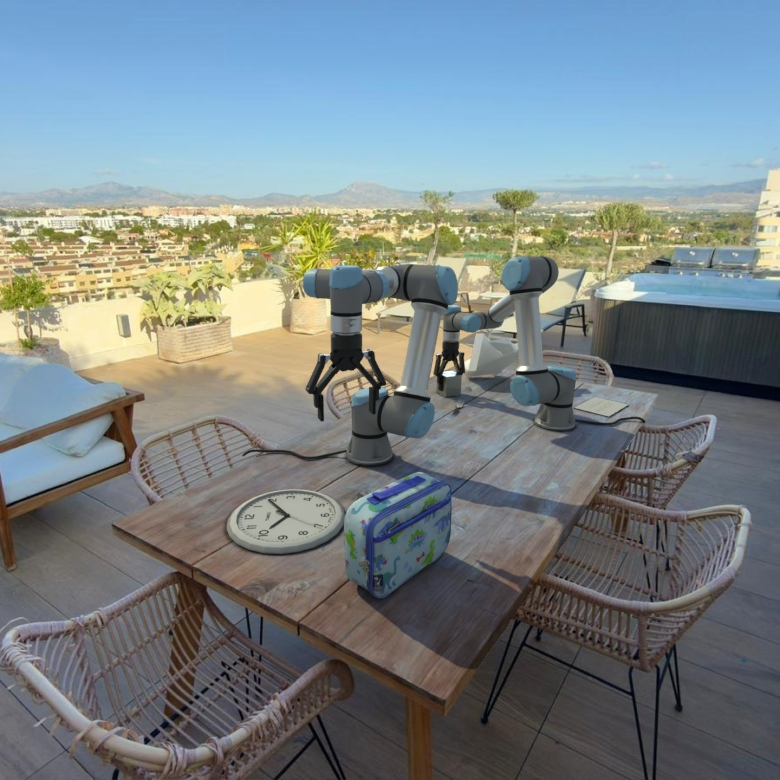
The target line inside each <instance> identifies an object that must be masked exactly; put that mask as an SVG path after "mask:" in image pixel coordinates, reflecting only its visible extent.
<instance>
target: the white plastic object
mask: <svg viewBox="0 0 780 780" xmlns="http://www.w3.org/2000/svg"><path fill="white" fill-rule="evenodd" d="M512 315H513V317H514V320H515V321H516V315H515V312H513V313H512ZM517 360H519V353H518V342H516V343H513V342H512V341H511V339H510V338H509V337H508V336H507V337H503V338H498V339H493V340H490V339H489V338H488V336H486V334H485V333H475V337H474V342H473V346H472V351H471V356H470V358H468V359H467V360H464V364H465V373H463V375H464V376H465V377H466V378H470V377H471V378H472V377H481V376H489V375H493V376H497V375H500V374H502V373H503V371H504V370H505V369H507V367H509V366H510V365H512V364H513V363H515V362H516V361H517Z"/></svg>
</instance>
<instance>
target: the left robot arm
mask: <svg viewBox="0 0 780 780" xmlns="http://www.w3.org/2000/svg"><path fill="white" fill-rule="evenodd" d="M302 289H303V292H304V293H305V295H306V296H308V297H310V298H315V299H322V300H329V302H330V311H329V312H330V313H329V315H330V317H329V318H330V321H329V322H330V325H329V326H330V329H329V330H330V331H331V333H330V353H329V354H325V353H324V354H323V353H322V352H319V353H318V354H317V362H316V364H315V366H314V369H313V372H312V373H311V375H310V378H309V380H308V382H307V384H306V386H305V391H306V392H307V394H308V395H313V406H314V408H315V409H317V419H318V420H319V421H320V422H325V404H324V400H325V398H324V394H322V393H323V392H324V390H325V389H326V388H327V386H328V385H329V384H330V383H331V381H332V379H333V378H334V377H335V376H336V375H337V374H338V373H339V372H347V371H351V372H352V371H355V370H356V369H357V370H358V372H359V373H360V374H361V375H362V376H363V377H364V378H365V379H366V381H367V382H368V383H369V384H370V385H371V386H369V387H366V388H362V389H359V390H356V391H355V392H354V393H352V396H351V405H350V407H351V436H350V439H349V442H348V445H347V447H346V449H344V450H338V451H335V452H329V453H324V454H320V455H314V456H313V455H312V456H307V455H302V454H299V453H297V452H295V451H292V450H286V449H256V448H255V449H249V450H247V451H245V452H243V453H242V455H241V457H245V456H247V455H248V454H250V453H285V454H291V455H294V456H296V457H298V458H301V459H304V460H317V459H322V458H327V457H333V456H336V455H340V454H344V453H345V455H346V460H347V461H348V462H350V463H351V464H353V465H357V466H362V467H376V466H377V467H378V466H383V465H385V464H388V463H389V462H390V461H392V460H393V447H392V445H391V441H390V439H389V436H388V434H392V435H396V436H402V437H405V438H408V439H409V438H411V439H422V438H424V437H425V436H426V435H427V434H428V432H429V431H430V429H431V427H432V426H433V423H434V419H435V417H436V416H435V414H436V409H435V405H434V403H432V402H431V398H432V397H431V395H430V394H429V392H428V388H429V383H430V378H431V372H432V368H433V362H434V358H435V351H436V346H437V341H438V336H439V331H440V327H441V321H442V316H443V314H445V313H446V312H447V310H448V306H449V305H454V304H455V303H456V301H457V300H458V294H459V283H458V278H457V274H456V272H455V270H454V269H453V268H452V267H450V266H446V265H440V264H436V265H435V264H433V265H432V264H418V263H417V264H415V263H402V264H395V265H384V266H379V267H377V268H376V269H362V267H360V266H359V265H334V266H332V267H331V268H330V269H329V268H328V269H326V268H310V269H308V270H307V271H305V273H304V275H303V278H302ZM386 298H389V299H396V300H401V301H406V302H411V303H410V306H411V308H412V309H413V311H414V312H413V317H412V322H411V327H410V333H409V338H408V343H407V348H406V352H405V353H406V354H405V358H404V363H403V369H402V374H401V378H400V384H399V386H398V387H396V388H395V389H394V390H393V394H392V395H390V394H389V390H388V389H387V388H386V387H385V386H387V381H386V379H385V376H384V375H383V372H382V370H381V369H380V366H379V365H378V363H377V361H376V353H375V351H373V350H372V349H370V348H367V349H366V350H364V351H363V334H362V331H363V305H366V304H370V303H377V302H379V301H382V300H384V299H386ZM364 358H365V359H366V360H367V361H368V364H369V366H370V368H371V370H372V372H373V373H374V376H375V378H376V379H377V380H376V379H375V378H374V377H373V376H372V375H371V373H369V371H367V369H366V368H365V367H364V365H363V364H362V363H361V362H362V360H363V359H364ZM329 361H331V364H330V365H329V367H328V368H327V370H326V372H325V373H324V374H323V376H322V373H323V371H324V369H325V366H326V364H327V363H329ZM321 376H322V377H321ZM320 377H321V379H320Z"/></svg>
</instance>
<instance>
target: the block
mask: <svg viewBox="0 0 780 780" xmlns="http://www.w3.org/2000/svg"><path fill="white" fill-rule="evenodd" d="M442 377H443V390H442V391H440V390H438V383H437V382H436V390H435V392H436V393H437V394H439V395H441V396H443V397H445V398H449V397H455V396H462V380H463V379H462V378H463V375H460V374H458V373H457V372H456V371H454V370H447V371H445V370H444V372H443V374H442Z"/></svg>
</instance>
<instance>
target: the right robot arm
mask: <svg viewBox="0 0 780 780" xmlns="http://www.w3.org/2000/svg"><path fill="white" fill-rule="evenodd" d="M559 273H560V272H559V266H558V264H557V263H556V261H554V259H552V258H550V257H549V256H544V255H538V256H537V255H536V256H535V255H534V256H532V255H530V256H529V255H528V256H527V255H522V256H516V257H512V258H510V259H508V261H506V263H505V265H504V266H503V267H502V271H501V276H500V277H501V283H502V286H503V287H504V288H505V289H506V290H508V291H509V292H508V293H507V294H506V295H505V296H503V297H502V298H500V300H498V301H497V302H496V303H495V304H493V305H492V306H491V307H490V308H489V309H487V310H486V311H480V312H479V311H478V312H462V307H461V306H460V305H456V304H455V305H454V304H453V305H448V310H447V312H446V313H445V314H443V315H442V316H443V317H442V319H443V321H442V322H443V323H442V345H441V347H442V348H441V349H442V350H441V353H435V364H434V368H433V373H432V374H433V376H435V377H436V384H437V383H438V390H440V391H442V390H443V377H442V374H443V372H445V369H446V367H447V365H448V364H449V363H450V362H452V364H453V367H454V369H455V372H456V373H458V374H460V375H462V376H463V375H464V373H465V364H464V362H465V352H464V351H462V350H461V351H459V350H460V335H461V331H462V332H466V333H470V334H471V333H472V334H474V333H476V332H478V331H483V330H494V329H498V328H501V327H502V326H503V324H504V322H505V320H506V319H507V318H508V317H509V316H511V315H513V312H515V315H516V320H515V326H516V339H517V343H518V353H519V359H518V364H519V365H518V366H517V368H516V369H515V376H514V377H513V378H512V379H511V381H510V384H509V390H510V394H511V396H512V398H513V399H514V401H516V403H517V404H519V405H521V406H522V407H531V406H532V407H535V406H537V405H539V407H538V410H537V411H536V413H535V417H534V424H535V425H536V426H537V427H539V428H542V429H544V430H549V431H556V432H567V431H572V430H574V429H575V428H576V423H582V424H584V423H585V424H591V425H598V426H614V425H617V424H618V423H619V422H621V421H628V420H639V421H641V422H643V423H646V420H645V419H644V418H642V417H640V416H627V417H619V418H617V419H616V420H615V421H612V422H603V421H601V422H600V421H594V420H593V421H592V420H585V419H576V418H575V417H576V416H575V413H574V407H573V405H574V398H575V391H576V383H577V372H576V371H575V370H574V369H572V368H571V367H570V368H569V367H566V366H561V365H554V364H547V365H546V364H545V363H544V353H543V341H542V340H543V339H542V327H541V312H540V311H541V310H540V296H541V295H542V294H544V293H545V292H547V291H548V290H549V289H552V287H553V286H554V285H555V284H556V282H557V280H558V278H559Z"/></svg>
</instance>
